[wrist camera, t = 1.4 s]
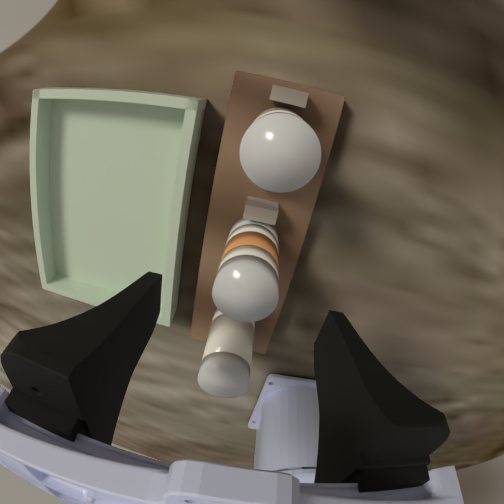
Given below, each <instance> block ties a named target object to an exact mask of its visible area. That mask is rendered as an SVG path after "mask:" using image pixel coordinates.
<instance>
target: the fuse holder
mask: <svg viewBox="0 0 504 504" xmlns="http://www.w3.org/2000/svg"><path fill="white" fill-rule="evenodd" d="M344 100H345V97H343V96H340V95H336V94H333V93H330V92H326V91H323V90H319V89H315V88H312V87H308V86H304V85H300V84H296V83H292V82H288V81H284V80H280V79H275V78H271V77H266V76H261V75H256V74H251V73H246V72H240V71H236V72H235V77H234V81H233V86H232V91H231V95H230V100H229V105H228V109H227V114H226V119H225V124H224V129H223V134H222V139H221V144H220V149H219V155H218V160H217V165H216V171H215V176H214V182H213V187H212V193H211V199H210V204H209V210H208V216H207V222H206V228H205V235H204V241H203V247H202V254H201V260H200V267H199V274H198V281H197V288H196V295H195V302H194V310H193V317H192V325H191V333H190V339H194V340H198V341H203V342H207V339H208V335H209V331H210V327H211V323H212V320H213V316H214V312H215V310H216V309H217V307H216V306H215V304H214V301H213V298H212V289H213V285H214V282H215V279H216V275H217V272H218V269H219V265H220V262H221V259H222V256H223V252H224V249H225V246H226V243H227V239H228V236H229V233H230V230H231V228H232V226H233V225H234V224H235V223H236V222H237V221H238V220H239V219H241V218H245V219H249V220H254V221H258V222H263V223H267V224H272V225H274V227H275V228H276V230H277V233H278V255H279V299H278V304H277V306H276V308H275V310H274V311H273V312H272V313H271V314H270V315H269V316H267V317H266V318H264V319H262V320H259V321H255V330H254V340H253V351H252V352H255V353H260V354H265V355H266V352H267V349H268V346H269V343H270V341H271V338H272V335H273V332H274V329H275V326H276V323H277V321H278V318H279V315H280V312H281V309H282V306H283V303H284V300H285V297H286V294H287V291H288V288H289V285H290V282H291V279H292V276H293V273H294V270H295V267H296V264H297V261H298V258H299V255H300V251H301V248H302V245H303V242H304V239H305V236H306V233H307V229H308V226H309V223H310V220H311V216H312V213H313V210H314V207H315V203H316V200H317V197H318V193H319V190H320V186H321V183H322V180H323V176H324V173H325V169H326V166H327V162H328V159H329V155H330V152H331V148H332V145H333V141H334V137H335V134H336V130H337V127H338V123H339V119H340V115H341V112H342V108H343V104H344ZM276 107H282V108H286V109H289V110H291V111H293V112H295V113H296V114H297V115H298V116H300V117H301V118H302V119H303V120H304V121H305V122H306V123H307V124H308V125H309V126H310V127H311V128H312V129H313V130H314V132H315V133H316V135H317V137H318V139H319V142H320V146H321V162H320V165H319V168H318V170H317V172H316V174H315V175H314V177H313V178H312V179H311V180H310V181H309V182H308V183H307V184H306V185H304V186H303V187H301V188H299V189H297V190H294V191H290V192H284V193H278V192H271V191H268V190H265V189H263V188H261V187H259V186H257V185H256V184H255V183H253V182H252V181H251V180H250V179H249V178H248V176H247V175H246V173H245V172H244V170H243V168H242V165H241V162H240V144H241V141H242V138H243V136H244V134H245V132H246V131H247V129H248V128H249V127H250V126H251V124H252V123H253V122H254V120H255V119H256V118H257V117H258V116H259V115H260V114H261V113H262V112H264V111H265V110H268V109H270V108H276Z"/></svg>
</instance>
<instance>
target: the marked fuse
mask: <svg viewBox="0 0 504 504" xmlns="http://www.w3.org/2000/svg"><path fill="white" fill-rule="evenodd" d="M212 298H213V301H214V304H215V306H216V307H217V309H218V310H219V311H220V312H221V313H222V314H224V315H225V316H227V317H228V318H230V319H233V320H236V321H240V322H255V321H259V320H262V319H264V318H266V317H267V316H269V315H270V314H271V313H272V312H273V311H274V310H275V308H276V306H277V304H278V299H279V255H278V233H277V230H276V228H275V227H274V225H272V224H267V223H263V222H258V221H254V220H249V219H245V218H241V219H239V220H238V221H237V222H236V223H235V224H234V225H233V226H232V228H231V230H230V233H229V236H228V239H227V243H226V246H225V249H224V252H223V256H222V259H221V262H220V265H219V269H218V272H217V275H216V279H215V282H214V285H213V289H212Z"/></svg>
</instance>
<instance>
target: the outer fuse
mask: <svg viewBox="0 0 504 504" xmlns="http://www.w3.org/2000/svg"><path fill="white" fill-rule="evenodd" d="M240 162H241V165H242V168H243V170H244V172H245V173H246V175H247V176H248V178H249V179H250V180H251V181H252V182H253V183H255V184H256V185H257V186H259V187H261V188H263V189H265V190H268V191H271V192H278V193H284V192H290V191H294V190H297V189H299V188H301V187H303V186H304V185H306V184H307V183H308V182H309V181H310V180H311V179H312V178H313V177H314V175H315V174H316V172H317V170H318V168H319V165H320V162H321V146H320V142H319V139H318V137H317V135H316V133H315V132H314V130H313V129H312V128H311V127H310V126H309V125H308V124H307V123H306V122H305V121H304V120H303V119H302V118H301V117H300V116H298V115H297V114H296V113H295V112H293V111H291V110H289V109H286V108H282V107H276V108H270V109H268V110H265V111H264V112H262V113H261V114H260V115H259V116H258V117H257V118H256V119H255V120H254V122H253V123H252V124H251V126H250V127H249V128H248V129H247V131H246V132H245V134H244V136H243V138H242V141H241V144H240Z"/></svg>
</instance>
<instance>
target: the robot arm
mask: <svg viewBox="0 0 504 504" xmlns="http://www.w3.org/2000/svg"><path fill="white" fill-rule="evenodd" d="M161 289H162V274H158V273H154V272H150V271H149V272H147V273H146V274H144V275H143V276H141V277H140V278H139V279H137V280H136V281H135V282H133V283H132V284H130V285H129V286H128V287H126V288H125V289H123V290H122V291H120V292H119V293H118V294H116V295H115V296H113V297H111V298H110V299H108V300H107V301H105V302H103V303H102V304H100V305H98V306H96V307H94V308H92V309H90V310H88V311H86V312H84V313H82V314H80V315H77V316H75V317H72V318H70V319H67V320H64V321H62V322H58V323H55V324H52V325H48V326H44V327H40V328H35V329H30V330H24V331H19V332H18V333H17V334H16V336H15V337H14V338H13V339H12V341H11V342H10V343H9V345H8V346H7V347H6V349H5V350H4V351H3V353H2V354H1V363H2V366H3V369H4V371H5V373H6V375H7V377H8V379H9V381H10V383H11V384H12V386H13V389H12V390H11V392H10V394H9V393H8V392H7V391H6V390H5V389H4V388H2V387H1V386H0V464H1V465H3V466H5V467H6V468H8V469H9V470H11V471H12V472H14V473H15V474H17V475H19V476H20V477H22V478H23V479H25V480H27V481H28V482H30V483H32V484H34V485H35V486H37V487H39V488H40V489H42V490H44V491H46V492H48V493H49V494H51V495H53V496H55V497H57V498H59V499H61V500H63V501H65V502H67V503H69V504H464V503H463V498H462V494H461V490H460V486H459V482H458V478H457V474H456V470H455V467H454V466H453V465H451V466H445V467H439V468H434V469H432V470H429V471H428V469H427V465H428V464H429V463H430V458H429V455H430V454H431V453H432V452H434V451H435V450H436V449H437V448H438V447H439V446H441V445H442V444H443V443H444V442H445V441H446V439H447V438H448V436H449V434H450V430H449V427H448V424H447V421H446V418H445V415H444V414H443V413H442V412H440V411H438V410H437V409H435V408H433V407H431V406H430V405H428V404H427V403H425V402H424V401H422V400H421V399H419V398H418V397H417V396H415V395H414V394H413V393H411V392H410V391H409V390H408V389H406V388H405V387H404V386H403V385H402V384H401V383H400V382H398V381H397V380H396V379H395V378H394V377H393V376H392V375H391V374H390V373H389V372H388V371H387V370H386V369H385V368H384V367H383V365H382V364H381V363H380V362H379V361H378V360H377V358H376V357H375V356H374V355H373V354H372V352H371V351H370V350H369V348H368V347H367V346H366V345H365V343H364V342H363V340H362V339H361V338H360V336H359V335H358V333H357V332H356V331H355V329H354V328H353V326H352V325H351V323H350V322H349V321H348V319H347V318H346V317H345V315H344V314H343V313H341V312H336V311H331V310H329V313H328V315H327V317H326V319H325V322H324V324H323V326H322V328H321V330H320V333H319V335H318V337H317V339H316V341H315V343H314V370H315V378H316V380H311V379H304V378H297V377H290V376H284V375H278V374H270V375H268V377H267V379H266V382H265V384H264V386H263V389H262V391H261V394H260V396H259V399H258V401H257V403H256V406H255V408H254V411H253V413H252V415H251V418H250V420H249V422H248V427H249V428H251V429H257V433H256V446H255V459H254V469H252V468H245V467H238V466H231V465H225V464H219V463H214V462H209V461H203V460H194V459H184V460H177V461H175V462H174V463H173V464H171V463H167V462H163V461H159V460H156V459H152V458H148V457H145V456H141V455H138V454H135V453H132V452H128V451H125V450H122V449H119V448H116V447H113V446H111V443H112V439H113V435H114V431H115V427H116V423H117V420H118V416H119V412H120V409H121V406H122V403H123V399H124V396H125V393H126V390H127V387H128V384H129V381H130V378H131V376H132V374H133V371H134V369H135V367H136V365H137V363H138V361H139V359H140V357H141V355H142V353H143V351H144V349H145V347H146V345H147V343H148V341H149V339H150V337H151V335H152V333H153V331H154V328H155V325H156V323H157V320H158V317H159V314H160V307H161Z"/></svg>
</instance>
